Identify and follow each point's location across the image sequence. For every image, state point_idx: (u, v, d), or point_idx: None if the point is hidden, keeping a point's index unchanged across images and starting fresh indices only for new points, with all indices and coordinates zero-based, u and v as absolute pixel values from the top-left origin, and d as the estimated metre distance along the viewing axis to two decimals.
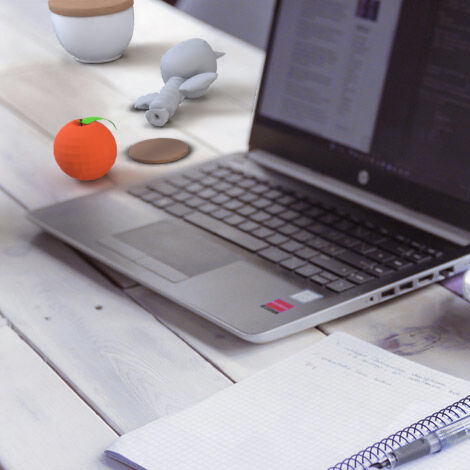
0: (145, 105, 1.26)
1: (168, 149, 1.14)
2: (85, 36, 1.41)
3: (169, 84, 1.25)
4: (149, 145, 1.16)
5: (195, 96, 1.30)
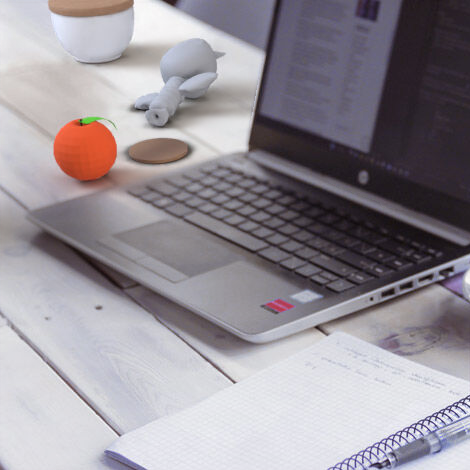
0: (145, 105, 1.26)
1: (168, 149, 1.14)
2: (85, 36, 1.41)
3: (169, 84, 1.25)
4: (149, 145, 1.16)
5: (195, 96, 1.30)
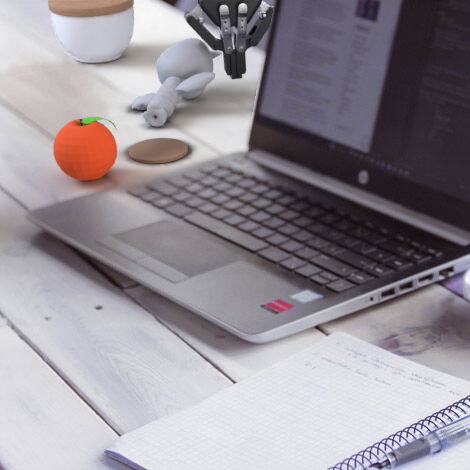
0: (142, 106, 1.26)
1: (168, 149, 1.14)
2: (85, 36, 1.41)
3: (166, 84, 1.25)
4: (149, 145, 1.16)
5: (192, 96, 1.30)
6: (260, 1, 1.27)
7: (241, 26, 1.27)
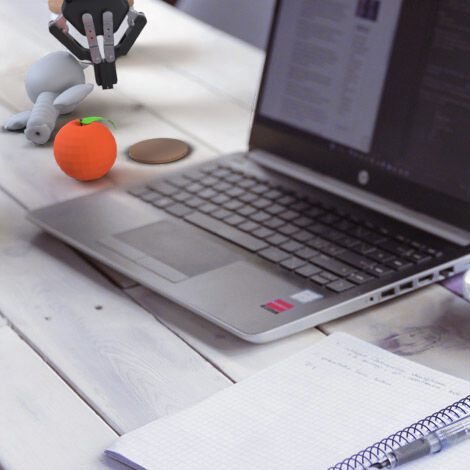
0: (18, 124, 1.20)
1: (168, 149, 1.14)
2: (85, 36, 1.41)
3: (42, 100, 1.20)
4: (149, 145, 1.16)
5: (67, 111, 1.25)
6: (127, 9, 1.22)
7: (107, 35, 1.22)
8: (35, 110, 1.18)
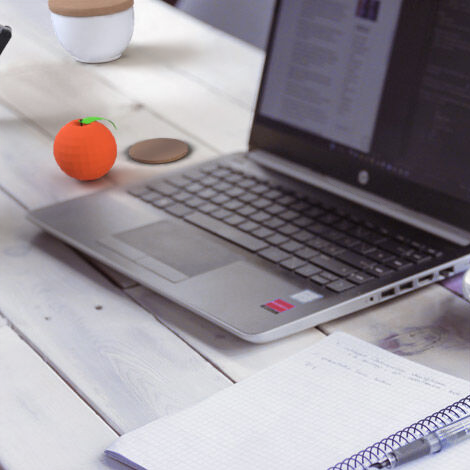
0: None
1: (168, 149, 1.14)
2: (85, 36, 1.41)
3: None
4: (149, 145, 1.16)
5: None
6: None
7: None
8: None
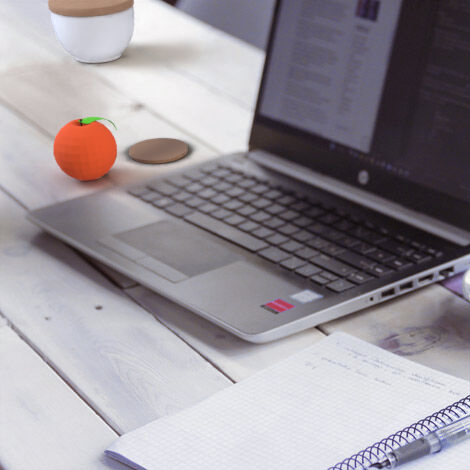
0: None
1: (168, 149, 1.14)
2: (85, 36, 1.41)
3: None
4: (149, 145, 1.16)
5: None
6: None
7: None
8: None
